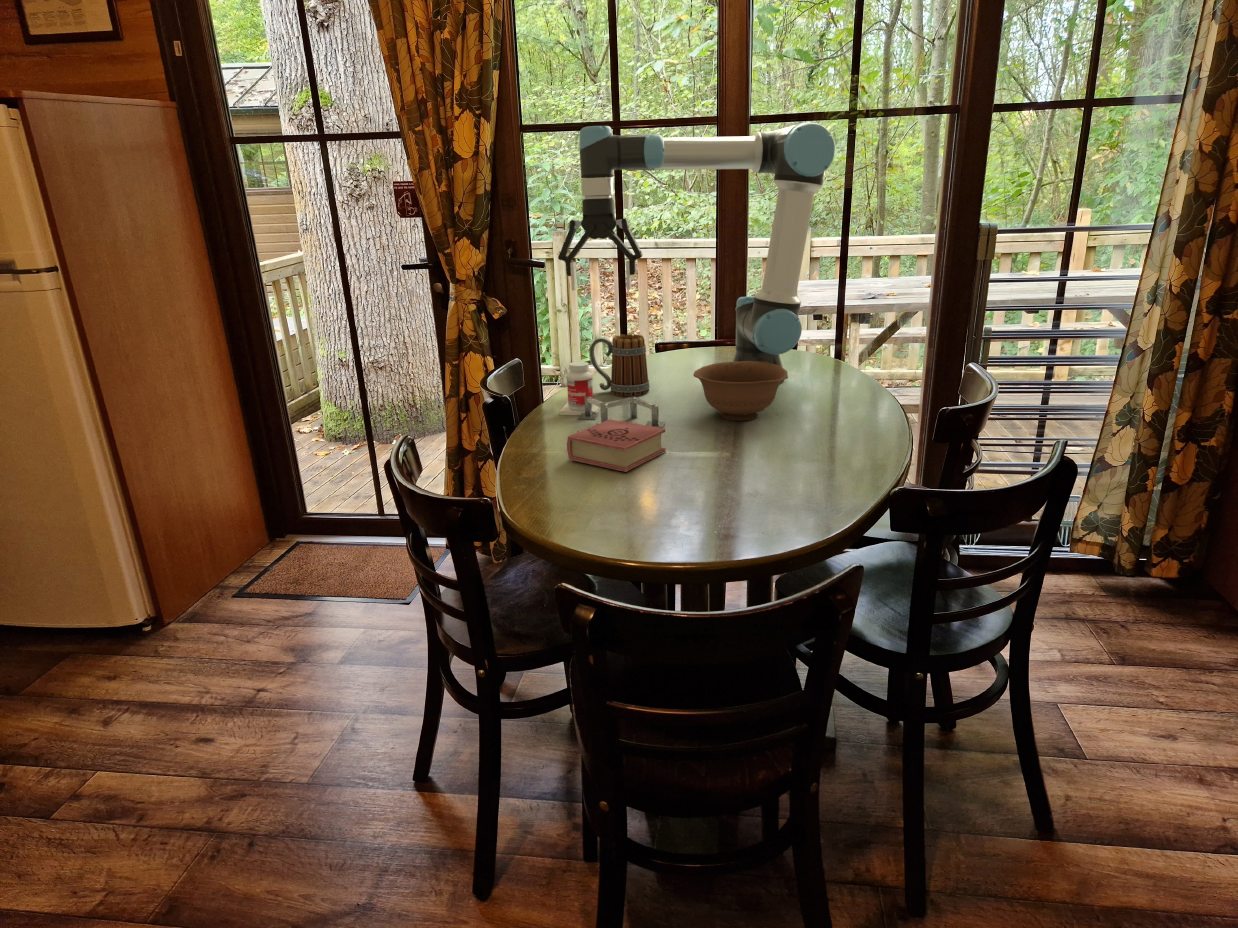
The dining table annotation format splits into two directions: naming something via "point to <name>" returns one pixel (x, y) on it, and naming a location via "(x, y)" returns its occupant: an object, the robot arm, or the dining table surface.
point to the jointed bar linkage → (631, 400)
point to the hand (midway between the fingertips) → (601, 289)
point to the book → (615, 444)
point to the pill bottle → (579, 385)
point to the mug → (624, 365)
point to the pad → (568, 411)
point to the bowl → (740, 387)
